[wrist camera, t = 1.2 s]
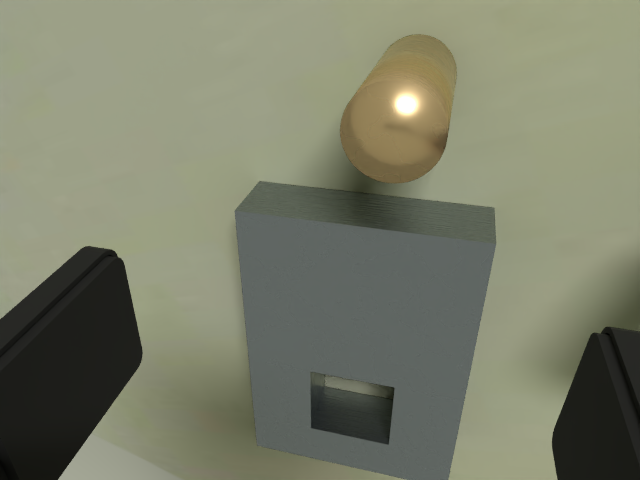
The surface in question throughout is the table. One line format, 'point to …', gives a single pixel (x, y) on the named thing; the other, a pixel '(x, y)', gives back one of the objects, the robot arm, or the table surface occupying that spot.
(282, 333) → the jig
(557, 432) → the robot arm
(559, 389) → the table surface
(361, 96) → the tan cylinder
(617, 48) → the table surface
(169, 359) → the table surface
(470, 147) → the table surface
